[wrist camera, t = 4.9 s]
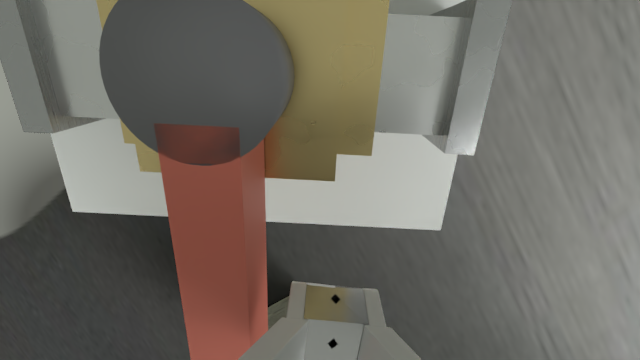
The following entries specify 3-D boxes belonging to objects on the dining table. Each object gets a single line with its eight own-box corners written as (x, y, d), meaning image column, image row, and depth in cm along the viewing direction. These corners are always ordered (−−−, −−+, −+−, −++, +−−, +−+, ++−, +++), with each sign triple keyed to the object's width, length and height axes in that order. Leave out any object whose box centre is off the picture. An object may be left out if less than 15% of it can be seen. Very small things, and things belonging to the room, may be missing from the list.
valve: (452, 2, 15) (560, -45, 8) (427, 137, 18) (492, 189, 11) (89, -17, 15) (-114, -80, 8) (117, 121, 18) (-19, 163, 11)
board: (494, -42, 15) (503, -47, 14) (436, 224, 21) (440, 230, 20) (6, -68, 15) (-10, -74, 14) (81, 206, 21) (72, 211, 20)
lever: (295, 3, 9) (281, -21, 6) (290, 350, 14) (281, 423, 11) (156, -4, 9) (78, -32, 6) (203, 346, 14) (173, 418, 11)
